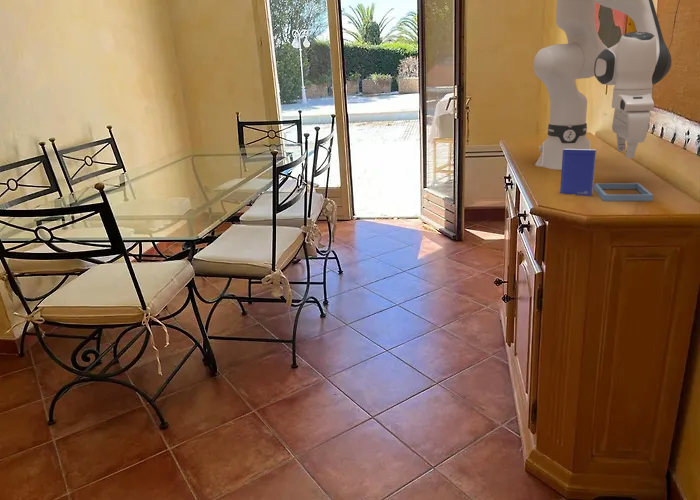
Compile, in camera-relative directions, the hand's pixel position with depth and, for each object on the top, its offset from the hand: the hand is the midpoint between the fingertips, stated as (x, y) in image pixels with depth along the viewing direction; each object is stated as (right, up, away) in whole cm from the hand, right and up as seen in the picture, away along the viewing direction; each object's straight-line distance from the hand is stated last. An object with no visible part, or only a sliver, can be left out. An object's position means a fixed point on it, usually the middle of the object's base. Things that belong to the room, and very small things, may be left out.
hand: (625, 154), depth 143 cm
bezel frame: (+1, -10, +3) cm, 11 cm away
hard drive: (-10, -10, +6) cm, 16 cm away
